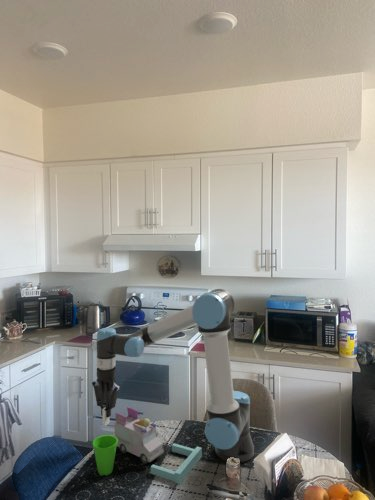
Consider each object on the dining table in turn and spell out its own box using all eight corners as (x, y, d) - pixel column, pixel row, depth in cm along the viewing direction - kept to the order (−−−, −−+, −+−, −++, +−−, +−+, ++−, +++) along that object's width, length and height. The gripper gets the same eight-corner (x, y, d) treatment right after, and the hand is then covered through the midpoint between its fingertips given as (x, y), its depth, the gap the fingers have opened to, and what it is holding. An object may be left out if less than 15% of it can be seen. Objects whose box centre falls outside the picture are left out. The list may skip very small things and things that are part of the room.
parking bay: (201, 456, 144) (201, 447, 144) (179, 484, 128) (179, 474, 128) (174, 448, 149) (174, 440, 149) (149, 474, 133) (149, 464, 133)
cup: (90, 467, 138) (90, 437, 137) (115, 461, 141) (115, 432, 141) (94, 481, 129) (94, 450, 129) (120, 475, 133) (120, 445, 132)
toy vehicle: (148, 468, 137) (148, 428, 136) (112, 450, 149) (112, 413, 148) (165, 456, 144) (165, 418, 144) (129, 440, 156) (129, 404, 155)
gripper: (87, 367, 152) (87, 424, 153) (113, 372, 146) (113, 432, 147) (99, 361, 159) (99, 416, 159) (124, 366, 153) (124, 423, 154)
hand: (106, 423), depth 153 cm, fingers closed
